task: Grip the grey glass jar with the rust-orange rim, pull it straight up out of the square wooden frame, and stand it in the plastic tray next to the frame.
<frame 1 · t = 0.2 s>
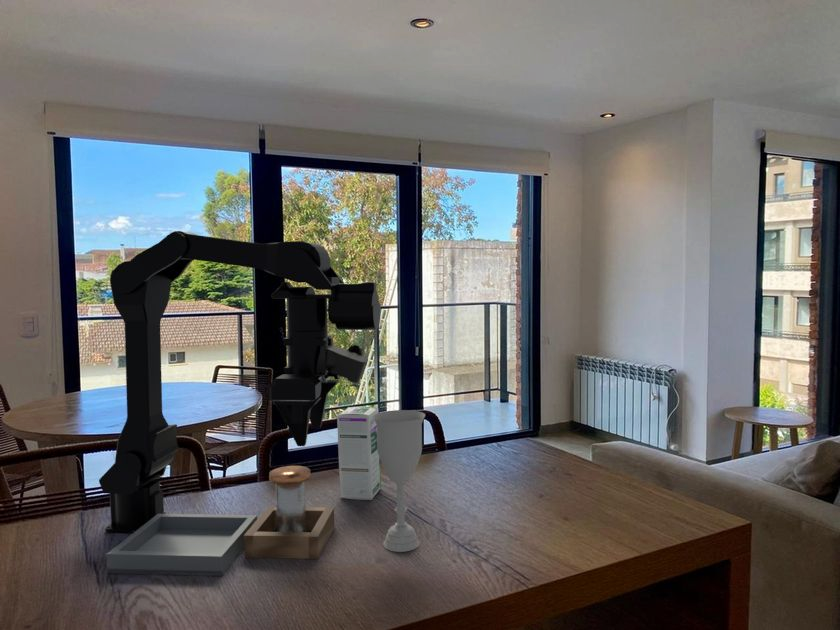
hand: (309, 436, 88), 14 cm above the table, tool pointing down, fingers open, 9 cm apart
tray: (187, 551, 83), on the table
square wooden frame: (291, 541, 85), on the table
syrup box: (360, 494, 104), on the table
glass jar: (290, 506, 85), in the square wooden frame
chalice: (401, 544, 84), on the table
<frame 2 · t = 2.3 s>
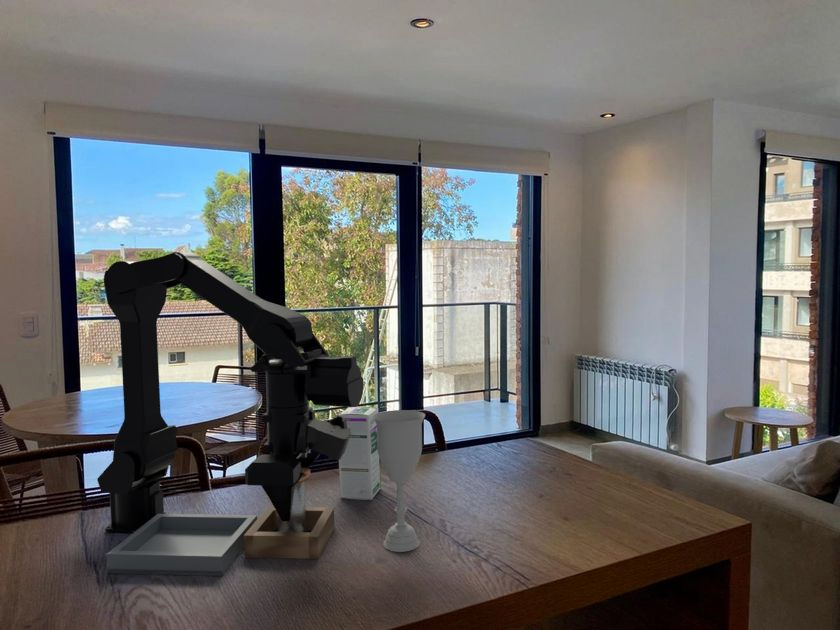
hand: (291, 513, 85), 4 cm above the table, tool pointing down, fingers closed on glass jar, 5 cm apart
glass jar: (290, 506, 85), in the square wooden frame, touching gripper
everything else where it was.
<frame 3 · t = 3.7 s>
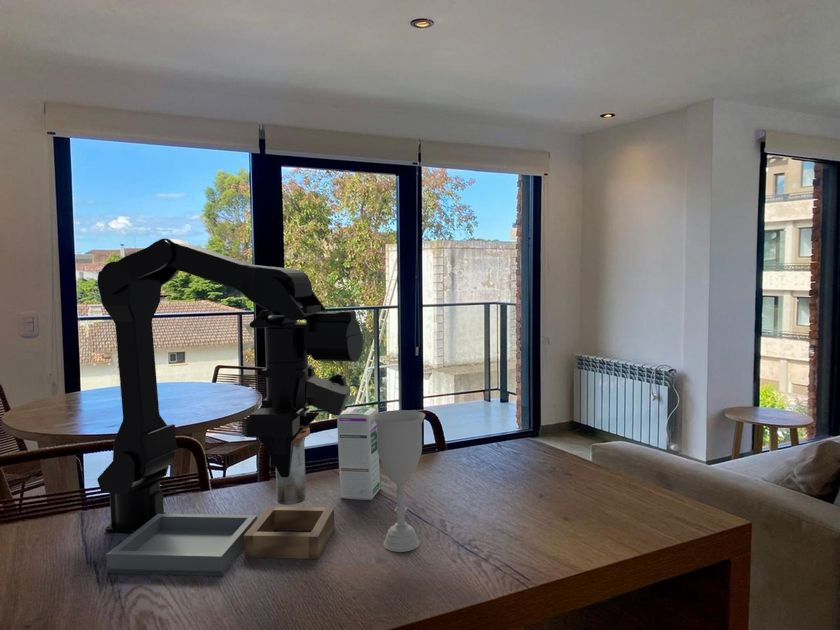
hand: (290, 471, 84), 10 cm above the table, tool pointing down, fingers closed on glass jar, 5 cm apart
glass jar: (290, 464, 84), point 11 cm above the table, touching gripper
everything else where it was.
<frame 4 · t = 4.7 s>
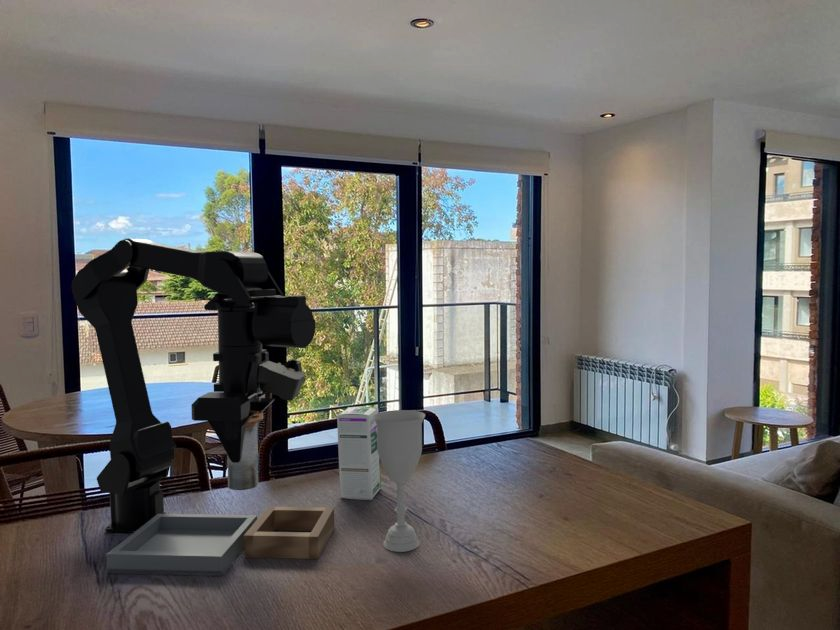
hand: (242, 456, 83), 13 cm above the table, tool pointing down, fingers closed on glass jar, 5 cm apart
glass jar: (242, 449, 83), point 14 cm above the table, touching gripper
everything else where it was.
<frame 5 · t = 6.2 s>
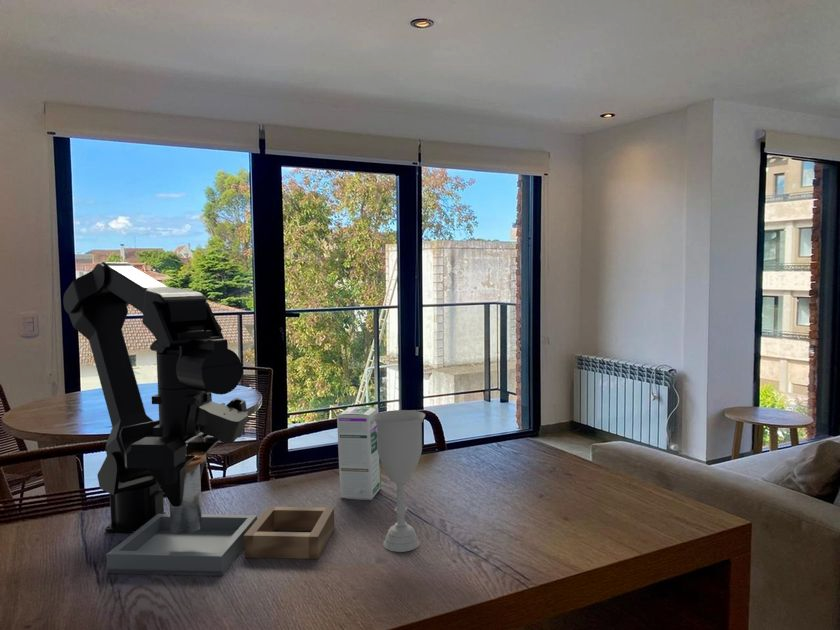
hand: (185, 499, 82), 7 cm above the table, tool pointing down, fingers closed on glass jar, 5 cm apart
glass jar: (185, 491, 82), point 8 cm above the table, touching gripper
everything else where it was.
when the fingers open (6 cm above the table, at t = 7.2 s): glass jar drops 2 cm, resting on tray.
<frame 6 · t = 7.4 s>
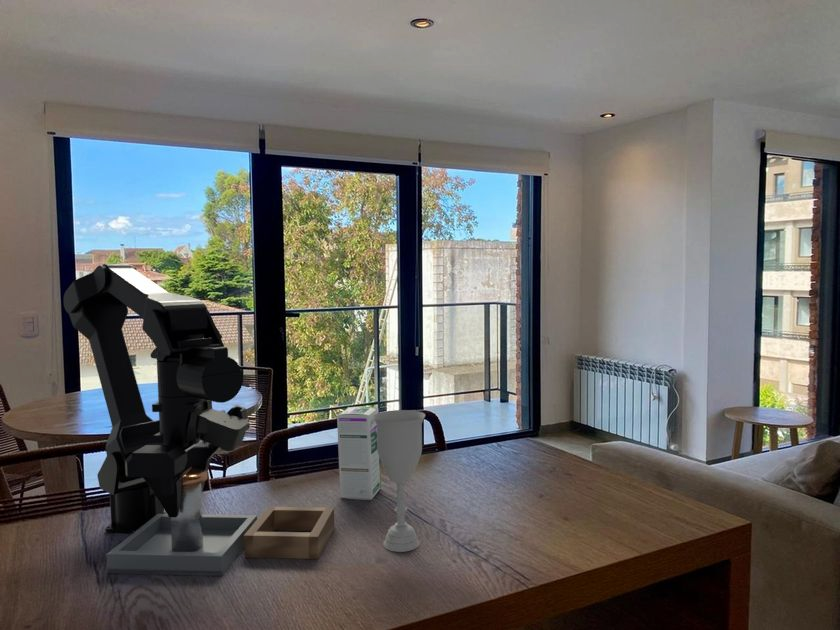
hand: (185, 506, 82), 6 cm above the table, tool pointing down, fingers open, 7 cm apart
glass jar: (186, 510, 82), in the tray, point 6 cm above the table
everything else where it was.
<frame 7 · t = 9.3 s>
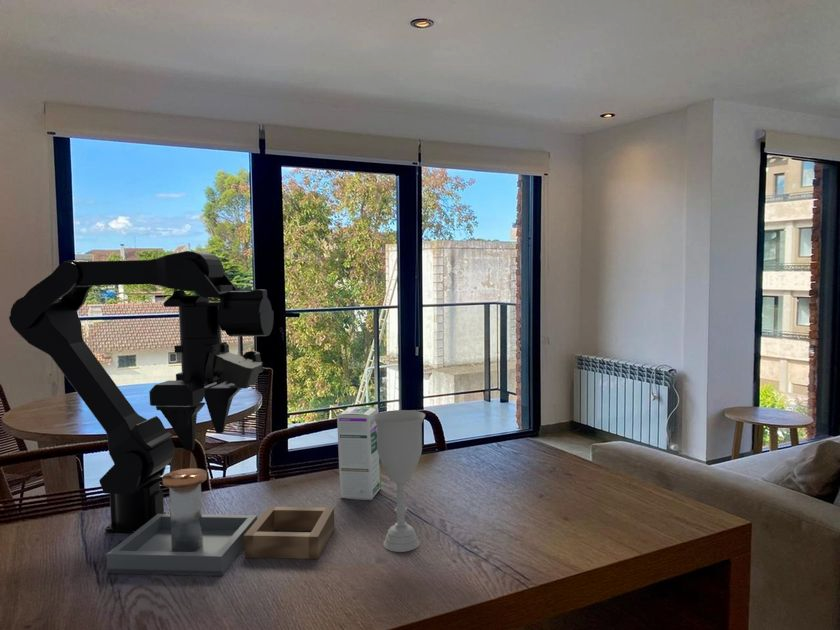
hand: (205, 441, 90), 13 cm above the table, tool pointing down, fingers open, 9 cm apart
nothing on the table moved.
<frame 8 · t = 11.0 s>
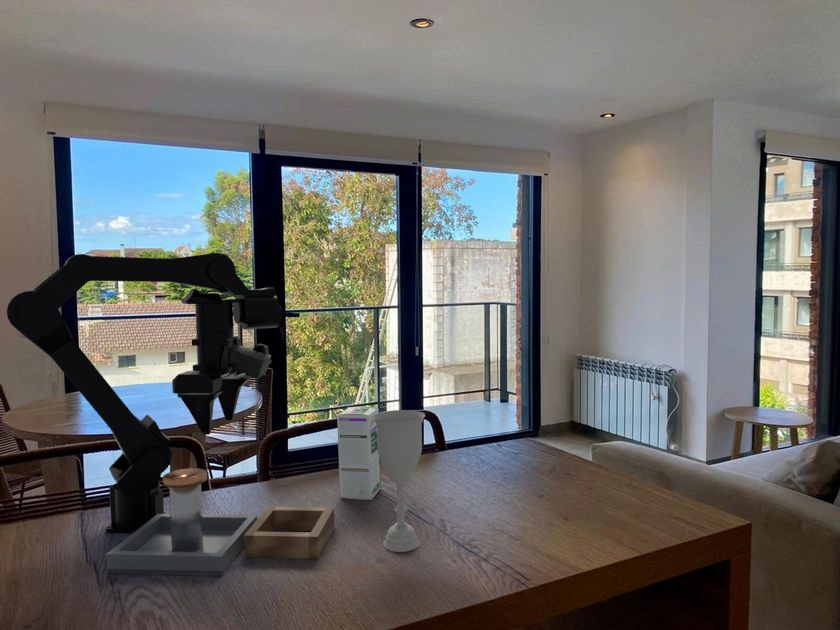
hand: (218, 427, 98), 13 cm above the table, tool pointing down, fingers open, 9 cm apart
nothing on the table moved.
at the end: glass jar inside the target area on the tray (0.0 cm from its centre), point 5.6 cm above the tray's base; the gripper is holding nothing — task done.
